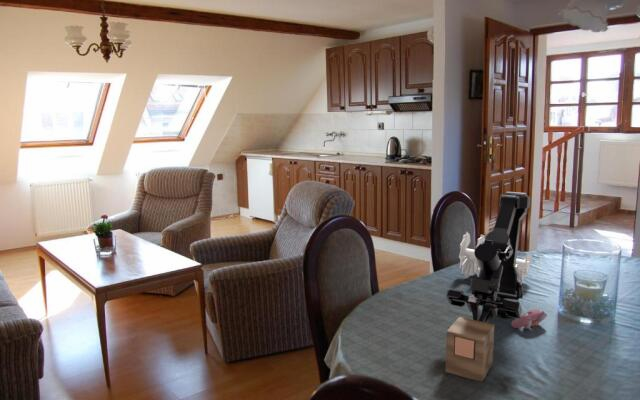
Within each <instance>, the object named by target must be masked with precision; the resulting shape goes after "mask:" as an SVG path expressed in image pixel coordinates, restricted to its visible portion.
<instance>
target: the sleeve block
mask: <svg viewBox="0 0 640 400" xmlns="http://www.w3.org/2000/svg"><path fill="white" fill-rule="evenodd" d="M456 336H460V337H464V338H469V339H473V340H476V341H475V357H474V358H473V359H471V358H467V357H463V356H459V355H456V354H455V337H456ZM494 339H495V323H489V322H487V323H486V322H481V321H476V320H473V318H472V319H471V318H466V317H460V316H458V318H457V319H456V320H455V321H454V322H453V323H452V324H451V325H450V327H449V328H448V329H447V330H446V342H445V371H444V372H445V373H448V374H452V375H455V376H459V377H463V378H466V379H469V380H474V381H477V382H481V383H482V382H483V381H484V379H485V378H486V376H487V374H488V372H489V370H490V369H491V367H492V366H493V361H494V360H493V359H494Z"/></svg>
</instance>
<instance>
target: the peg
mask: <svg viewBox="0 0 640 400" xmlns="http://www.w3.org/2000/svg"><path fill="white" fill-rule="evenodd" d="M475 341H476V340H473V339H469V338H464V337H460V336H456V337H455V354H456V355H459V356H463V357H467V358H471V359H473V358H474V357H475Z"/></svg>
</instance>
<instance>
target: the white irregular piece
mask: <svg viewBox="0 0 640 400" xmlns="http://www.w3.org/2000/svg"><path fill="white" fill-rule="evenodd" d="M485 239H486V236H485V235H484V234H480V237H479V238H477V242H476V247H477V246H478V245H480V244H482V242H484V241H485ZM470 244H471V234H470V233H469V232H468V231H466V232H465V234H463V235H462V240H461V242H460V244H459V249H460V250H459V251H460V252H459V254H458V258H459V269H461V275H462V274H463V275H464V277H465V278H466V279H467V278H468V277H470V276H471V277H472V276H473V274H477V277H478V276H479V272H480V268H479V266H478V263H477V260H476V257H475V254H474V251H475V249H472V248H468V247H469V245H470ZM532 260H533V254H530V253H526V254H525V257H524V259H520V258H516V269H517V271H518V273H519V275H520V279H519V281H521V284H522V283H523V281H524V280H525V279H526V276H528V271H529V269H530V266H531V265H532ZM500 262H501V260H500ZM477 277H476V278H477Z"/></svg>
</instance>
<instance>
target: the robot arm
mask: <svg viewBox="0 0 640 400" xmlns="http://www.w3.org/2000/svg"><path fill="white" fill-rule="evenodd" d="M531 199H532V198H531V196H528V194H527V192H518V191H516V192H515V191H506V192H505V193H504V194H499V210H498V213H497V215H496V216H497V217H496V220H495V223H494V226H493V229H492V231H490V232H489V233H487V234H486V236H485V241H484V242H482V244H480V245H478V246H477V245H476V247H475V249H474V250H475V251H474V254H475V257H476V260H477V263H478V266H479V268H480V272H479V276H478V277H476V278H474V277H472V278H471V280H470V287H469V290H470V291H471V295H466V294H465V291H464V290H463V289H459V288H458V289H457V288H451V287H450V288H449V289H448V290H447V291H446V292H447V293H446V295H445V296H446V299H447V301H448V303H449V305H451V306H454V307H460V308H462V307H464V306H465V305H467V308H468V311H469V312H471V314H472V320H476V321H481V322H486V323H489V321H490V320H491V319H493V318H497V317H500V318H502V319H505V318H506V319H507V318H515V319H517V318H518V319H519V318H520V317H521V316H522V305H521V302H520V299H523V297H524V289H523V285H522V283H521V281H519V279H520V275H519V273H518V271H517V269H516V259H518V258H517V256H518V247H519V242H520V231H521V222H522V221H523V219H524V218H525V217H526V215H527V214H528V210H529V209H530V208H531V207H530V206H531ZM500 260H501V262H500ZM480 307H482V309H481V308H480ZM480 309H481V310H480Z"/></svg>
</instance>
